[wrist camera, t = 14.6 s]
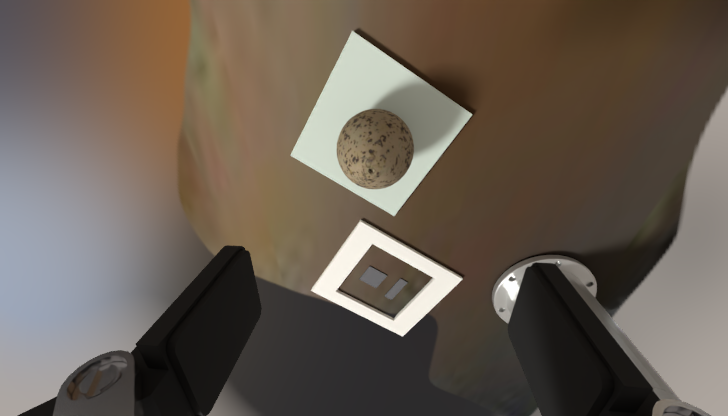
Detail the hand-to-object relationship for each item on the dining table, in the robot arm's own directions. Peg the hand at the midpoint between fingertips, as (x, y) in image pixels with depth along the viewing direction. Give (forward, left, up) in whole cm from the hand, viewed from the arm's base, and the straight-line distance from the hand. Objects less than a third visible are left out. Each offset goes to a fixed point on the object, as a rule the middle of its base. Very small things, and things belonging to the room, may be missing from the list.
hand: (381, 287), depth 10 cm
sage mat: (+1, +1, -24) cm, 24 cm away
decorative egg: (+1, +1, -24) cm, 24 cm away
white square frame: (-11, +18, -24) cm, 32 cm away
